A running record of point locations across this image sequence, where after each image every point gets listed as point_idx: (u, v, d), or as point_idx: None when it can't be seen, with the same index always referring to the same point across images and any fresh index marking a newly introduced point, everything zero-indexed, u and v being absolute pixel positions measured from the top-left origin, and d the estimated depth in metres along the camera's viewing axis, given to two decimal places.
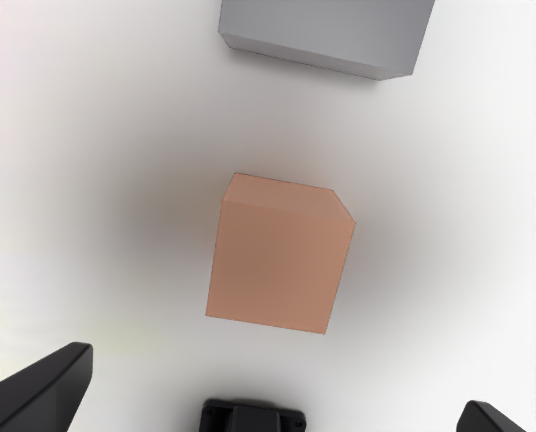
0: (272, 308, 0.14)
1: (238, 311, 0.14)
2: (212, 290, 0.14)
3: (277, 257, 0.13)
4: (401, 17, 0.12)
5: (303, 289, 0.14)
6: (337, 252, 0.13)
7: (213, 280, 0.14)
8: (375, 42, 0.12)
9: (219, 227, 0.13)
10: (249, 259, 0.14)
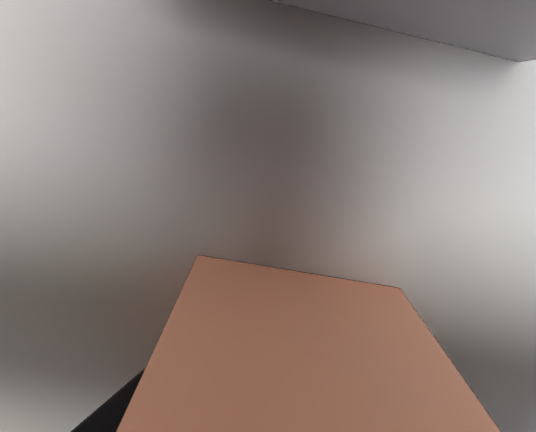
0: None
1: None
2: None
3: None
4: None
5: None
6: None
7: None
8: None
9: None
10: None
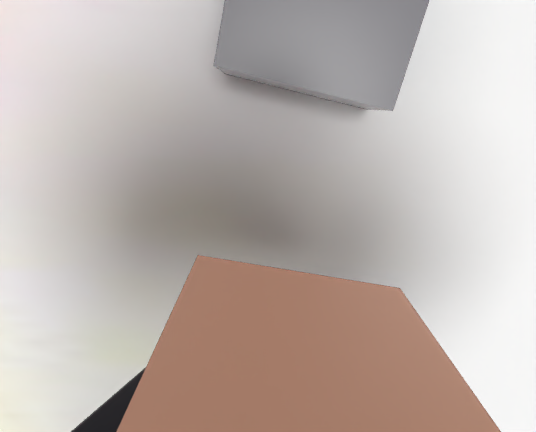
0: None
1: None
2: None
3: None
4: (383, 58, 0.13)
5: None
6: None
7: None
8: (359, 80, 0.13)
9: None
10: None
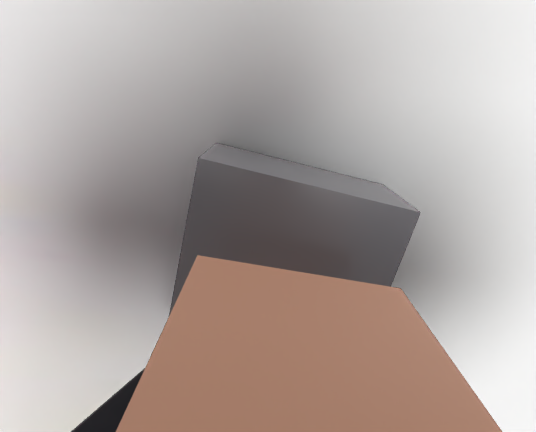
0: None
1: None
2: None
3: None
4: None
5: None
6: None
7: None
8: None
9: None
10: None
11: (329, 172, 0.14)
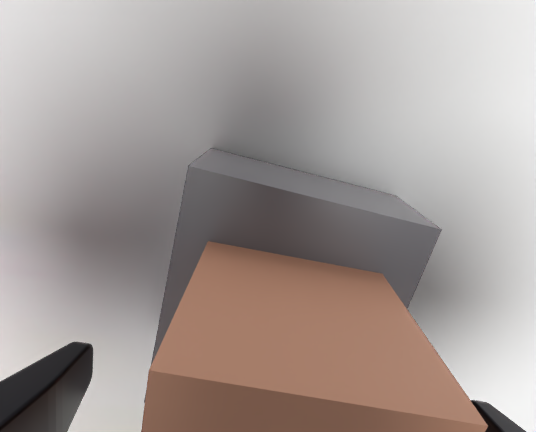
0: None
1: None
2: None
3: None
4: None
5: None
6: None
7: None
8: None
9: (145, 430, 0.05)
10: None
11: (336, 181, 0.13)
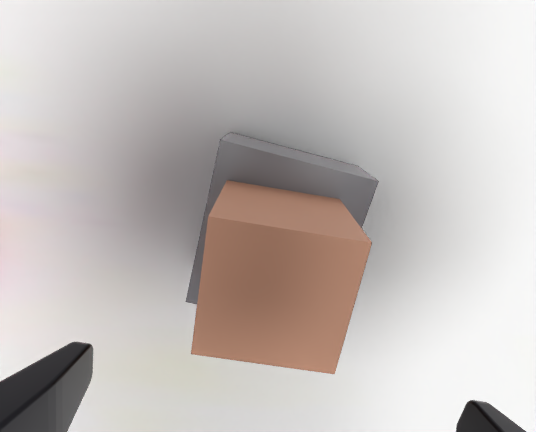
0: (272, 345, 0.12)
1: (230, 348, 0.12)
2: (198, 324, 0.12)
3: (276, 285, 0.11)
4: None
5: (307, 322, 0.12)
6: (349, 278, 0.11)
7: (199, 312, 0.11)
8: None
9: (205, 250, 0.11)
10: (242, 288, 0.11)
11: (316, 155, 0.18)
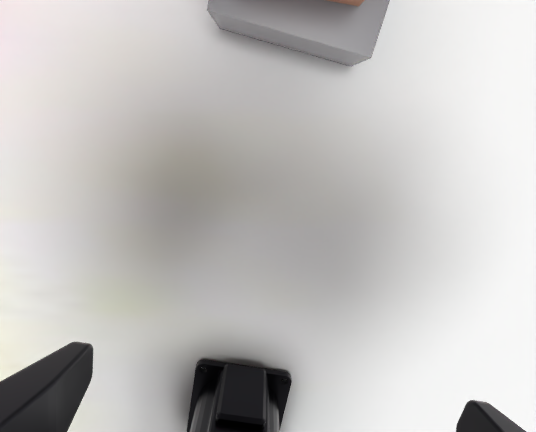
0: None
1: None
2: None
3: None
4: (363, 7, 0.14)
5: None
6: None
7: None
8: (340, 27, 0.14)
9: None
10: None
11: None
